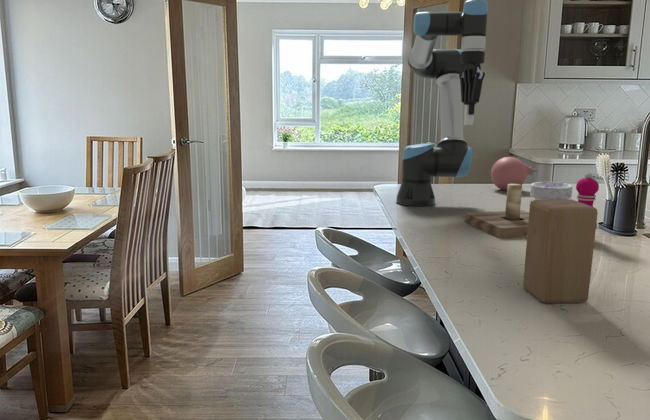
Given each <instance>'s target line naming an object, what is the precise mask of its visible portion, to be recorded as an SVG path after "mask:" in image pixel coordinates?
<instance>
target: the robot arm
mask: <svg viewBox="0 0 650 420" xmlns="http://www.w3.org/2000/svg"><path fill="white" fill-rule="evenodd" d="M488 4H489V3H488V1H487V0H466V1H465V2H464V3H463V9H462V11H447V12H446V11H421V12H420V11H419V12H416V13H415V14H414V16H413V27H412V28H413V34H414V36H415V38H414V43H413V46H412V48H411V49H410V50H409V51H408V55H407V64H408V67H409V69H410V70H411V71H412V72H413V73H414V74H416V75H417V76H419V77H421V78H423V79H435V83H436V85H438V86H439V97H440V98H439V100H440V101H439V103H440V109H439V110H440V140H439V141H438V142H437V144H436V146H435V147H434V145H433V144H434V143H416V144H411V145H407V146H404V148H403V150H402V157H401V160H402V164H401V183H400V186H399V189H398V192H397V195H396V203H397V204H399V205H403V206H410V207H424V206H425V207H426V206H433V205H435V204H436V197H435V193H434V190H433V186H432V178H455V179H456V178H465V177H466V176H468V175H469V172H470V171H471V170H470V169H471V166H472V161H473V149H472V147H470V146H468V142H467V140H466V139H464V126H471V125H472V126H474V122H475V121H474V120H475V107H476V106H475V105H477V103H479V102H480V99H481V93H482V88H483V87H482V86H483V82H484V78H485V76H486V73H485V71H483V72H482V68H481V64H484V63H485V59H486V58H485V56H486V53H485V49H486V42H487V40H486V38H487V23H488V15H489V11H488V10H489V9H488ZM439 36H461V43H460V44H461V46H460V49H457V48H453V49H448V48H445V49H442V48H437V49H435V45H436V43H437V40H438V38H439ZM463 105H464V115H463ZM463 117H464V118H463Z"/></svg>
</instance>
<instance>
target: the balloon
mask: <svg viewBox="0 0 650 420" xmlns="http://www.w3.org/2000/svg"><path fill="white" fill-rule="evenodd" d="M491 167H492V168H491V170H490V177H491V181H492V183H493V184H494V186H495V187H497V189H500V190H503V191H506V192H507V187H508V184H520V185H522V186H523V184H524V183H525V181H526V179H527V177H528V176H532V175H533V174H534V173H537V172H538V169H537V168H534V167H533V166H530V165H529V166H528V165H526V164H524V163H523V161H522V160H521V159H519V158H517V157H514V156H505V157H502V158H500V159H498V160H496V161H495V163H494V164H493V166H491Z"/></svg>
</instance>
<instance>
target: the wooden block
mask: <svg viewBox="0 0 650 420" xmlns="http://www.w3.org/2000/svg"><path fill="white" fill-rule="evenodd" d="M528 212H529V221H528V233H527V236H526V246H525V247H526V248H525V258H524V259H525V260H524V268H523V269H524V271H523V281H522V283H523V284H522V285H523V288H524V289H525V290H526V291H527V292H528V293H530V294H531V295H533V297H535V298H536V299H538V301H540V303H541V302H542V303H544V304H553V303H554V304H559V303H560V304H561V303H562V304H563V303H585V302H587V301H588V300H589V294H590V293H589V292H590V283H591V275H592V266H593V258H594V248H595V239H596V231H597V228H596V223H598V221H597V220H598V213H599V212H598V209H597V207H595V206H593V207H592V206H589V205H586V204H583V203H580V202H578V200H575V199H572V198H570V199H560V200H535V199H533V200H530V202H529V210H528Z"/></svg>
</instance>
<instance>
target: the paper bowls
mask: <svg viewBox="0 0 650 420" xmlns="http://www.w3.org/2000/svg"><path fill="white" fill-rule="evenodd" d="M530 185H531V186H530V193H529V194H530V195H529V196H530V197H532V198H534V200H560V199H572V195H573V185H572V184H569V183H564V182H557V181H555V182H554V181H538V182H537V181H536V182H531V184H530Z"/></svg>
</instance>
